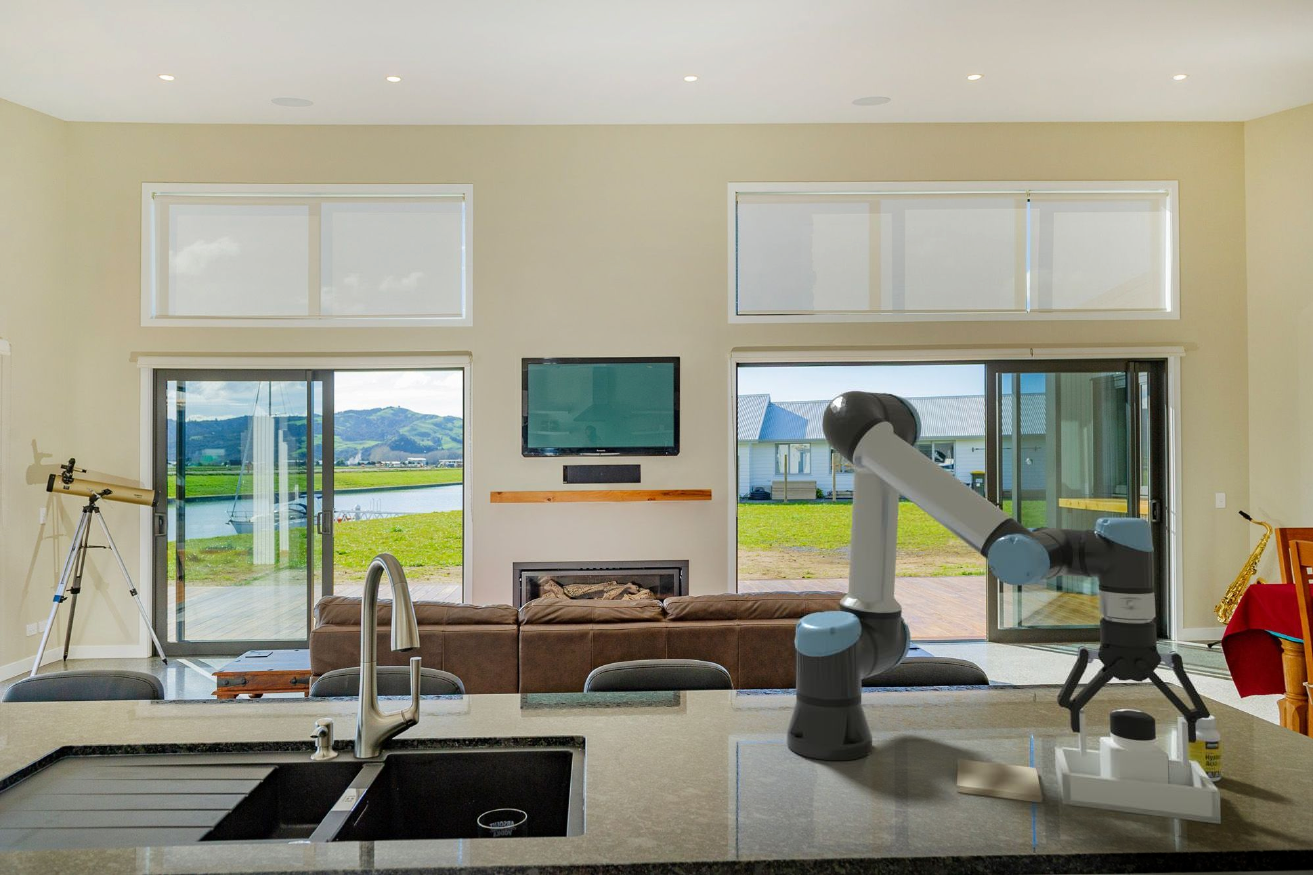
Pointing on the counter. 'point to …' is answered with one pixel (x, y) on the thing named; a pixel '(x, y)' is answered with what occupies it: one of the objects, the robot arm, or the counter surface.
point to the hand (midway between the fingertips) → (1132, 758)
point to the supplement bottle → (1207, 748)
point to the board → (998, 780)
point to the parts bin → (1137, 789)
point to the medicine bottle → (1133, 749)
